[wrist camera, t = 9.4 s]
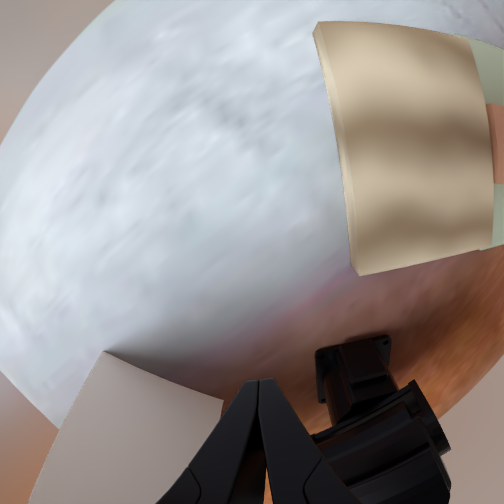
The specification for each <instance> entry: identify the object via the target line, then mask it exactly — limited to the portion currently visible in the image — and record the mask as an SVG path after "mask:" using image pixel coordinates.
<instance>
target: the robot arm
mask: <svg viewBox="0 0 504 504" xmlns="http://www.w3.org/2000/svg"><path fill="white" fill-rule="evenodd" d="M385 340H386V341H385ZM384 341H385V342H384ZM390 349H391V338H390V337H389V336H388V335H383V336H379V337H375V338H371V339H367V340H363V341H358V342H354V343H349V344H345V345H340V346H335V347H330V348H325V349H320V350H318V351H316V353H315V367H316V380H317V394H318V401H319V403H321V404H323V403H327V406H328V410H329V415H330V419H331V424H332V427H330V428H328V429H326V430H324V431H321V432H319V433H317V434H312V435H309V433H308V432H307V430H306V429H305V427H304V426H303V424H302V422H301V421H300V419H299V418H298V416H297V415H296V413H295V411H294V410H293V408H292V407H291V405H290V403H289V402H288V400H287V399H286V397H285V395H284V394H283V392H282V390H281V389H280V387H279V386H278V384H277V382H276V381H275V379H274V378H266V379H261V380H260V381H259V380H249V381H245V382H244V383H243V385H242V386H241V388H240V390H239V391H238V393H237V394H236V396H235V397H234V399H233V400H232V402H231V403H230V405H229V407H228V408H227V410H226V411H225V413H224V414H223V416H222V417H221V419H220V420H219V422H218V423H217V424H216V426H215V427H214V429H213V430H212V432H211V433H210V435H209V436H208V438H207V439H206V440H205V442H204V443H203V445H202V446H201V448H200V449H199V450H198V452H197V453H196V455H195V456H194V457H193V459H192V460H191V462H190V463H189V464H188V467H186V468H185V470H184V471H183V472H182V474H181V475H180V476H179V478H178V479H177V480H176V481H175V483H174V484H173V485H172V486H171V487H170V489H169V490H168V491H167V492H166V493H165V494H164V495H163V496H162V497H161V498H160V499H159V500H158V501H157V502H156V503H155V504H263V502H264V491H265V479H266V467H267V472H268V478H269V484H270V490H271V495H272V501H273V504H448V503H449V499H450V489H451V481H450V478H449V475H448V472H447V470H446V467H445V464H444V462H443V460H442V458H441V455H443V454H445V453H447V452H448V451H450V450H451V448H450V445H449V443H448V440H447V438H446V436H445V434H444V432H443V430H442V428H441V426H440V424H439V422H438V420H437V418H436V416H435V414H434V412H433V410H432V409H431V407H430V405H429V403H428V402H427V400H426V398H425V396H424V395H423V393H422V391H421V389H420V388H419V386H418V384H417V383H416V381H415V379H414V380H412V381H411V382H409V383H408V385H407V386H405V387H404V388H402V389H400V390H399V388H398V386H397V384H396V382H395V380H394V378H393V376H392V374H391V372H390V370H389V368H388V365H389V358H390ZM320 355H323V356H320Z"/></svg>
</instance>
